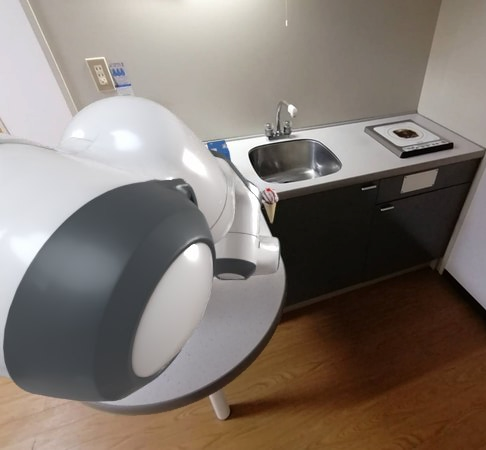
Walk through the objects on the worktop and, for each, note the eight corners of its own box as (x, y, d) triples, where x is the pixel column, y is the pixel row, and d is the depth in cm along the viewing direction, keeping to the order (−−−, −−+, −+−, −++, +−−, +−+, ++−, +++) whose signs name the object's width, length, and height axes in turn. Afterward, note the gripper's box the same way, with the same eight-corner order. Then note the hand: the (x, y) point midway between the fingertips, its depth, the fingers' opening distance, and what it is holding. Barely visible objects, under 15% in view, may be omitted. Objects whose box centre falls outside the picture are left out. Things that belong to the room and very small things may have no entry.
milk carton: (238, 201, 113) (229, 151, 100) (221, 205, 112) (210, 155, 99) (233, 187, 120) (224, 139, 107) (217, 190, 119) (206, 142, 106)
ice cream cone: (259, 226, 102) (255, 188, 92) (271, 218, 105) (268, 180, 96) (271, 233, 99) (268, 195, 90) (283, 224, 103) (281, 187, 93)
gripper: (211, 213, 70) (151, 213, 70) (185, 284, 54) (108, 284, 55) (216, 233, 74) (160, 234, 74) (194, 305, 58) (122, 305, 59)
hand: (137, 256), depth 64 cm, fingers closed on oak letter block, 5 cm apart
